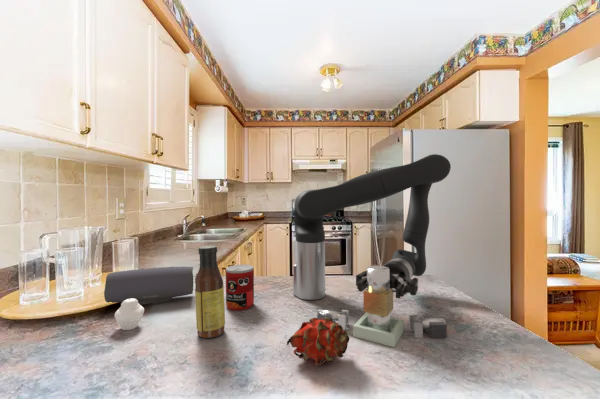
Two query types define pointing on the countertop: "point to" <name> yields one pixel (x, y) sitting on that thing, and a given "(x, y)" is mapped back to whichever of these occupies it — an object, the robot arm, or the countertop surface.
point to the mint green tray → (379, 331)
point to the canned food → (239, 287)
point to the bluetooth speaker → (149, 284)
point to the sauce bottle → (209, 295)
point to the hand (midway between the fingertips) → (378, 290)
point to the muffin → (129, 314)
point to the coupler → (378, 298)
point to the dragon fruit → (320, 340)
